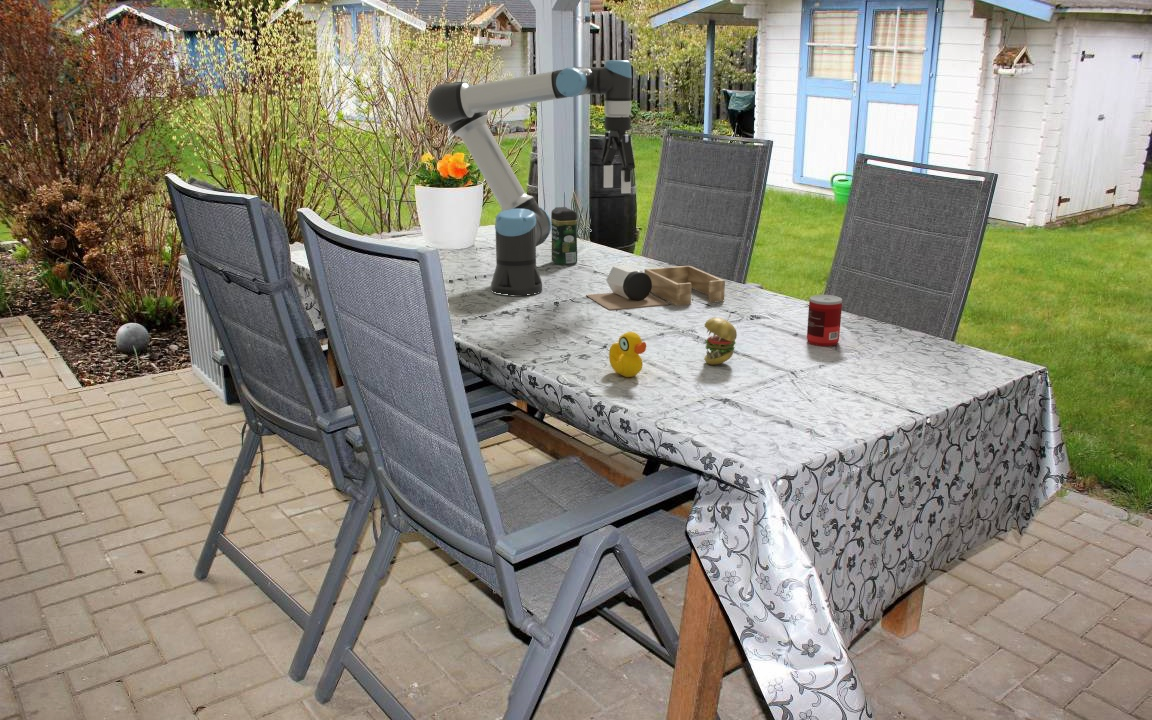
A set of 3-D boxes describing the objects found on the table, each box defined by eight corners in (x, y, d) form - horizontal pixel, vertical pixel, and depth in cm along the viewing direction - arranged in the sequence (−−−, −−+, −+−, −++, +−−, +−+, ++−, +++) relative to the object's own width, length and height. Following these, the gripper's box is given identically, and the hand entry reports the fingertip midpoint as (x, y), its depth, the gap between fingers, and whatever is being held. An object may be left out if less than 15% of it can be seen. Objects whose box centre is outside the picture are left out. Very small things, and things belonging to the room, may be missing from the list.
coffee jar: (548, 261, 338) (548, 206, 332) (570, 259, 340) (570, 205, 335) (557, 266, 329) (557, 210, 323) (580, 265, 331) (580, 209, 326)
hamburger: (701, 358, 230) (703, 308, 226) (733, 358, 230) (735, 308, 226) (704, 368, 223) (706, 316, 219) (737, 368, 222) (739, 316, 219)
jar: (605, 294, 290) (625, 302, 280) (605, 266, 288) (626, 274, 278) (632, 290, 294) (653, 299, 284) (632, 263, 292) (653, 271, 281)
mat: (609, 310, 273) (609, 309, 273) (586, 295, 289) (586, 294, 289) (669, 304, 279) (669, 303, 279) (642, 291, 295) (642, 290, 295)
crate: (676, 305, 278) (676, 284, 276) (644, 288, 298) (644, 269, 296) (724, 301, 283) (725, 280, 281) (689, 285, 303) (690, 265, 301)
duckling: (654, 380, 214) (655, 335, 212) (634, 385, 212) (635, 339, 209) (621, 367, 223) (622, 324, 220) (602, 371, 220) (603, 327, 217)
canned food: (840, 339, 245) (843, 295, 242) (837, 348, 238) (840, 303, 235) (808, 336, 248) (811, 293, 245) (804, 345, 241) (807, 300, 237)
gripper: (647, 118, 277) (645, 195, 283) (613, 113, 299) (612, 184, 305) (622, 118, 274) (621, 196, 281) (590, 113, 297) (589, 185, 303)
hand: (616, 190), depth 293 cm, fingers open, 13 cm apart
